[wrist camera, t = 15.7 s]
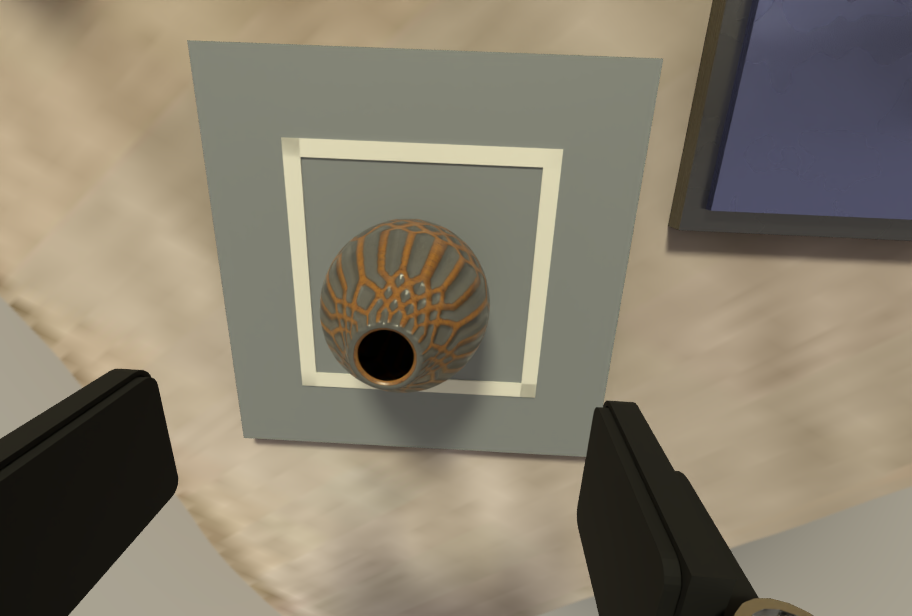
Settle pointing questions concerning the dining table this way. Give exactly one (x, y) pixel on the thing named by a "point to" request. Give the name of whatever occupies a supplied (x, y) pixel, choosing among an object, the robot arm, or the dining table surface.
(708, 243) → the dining table surface
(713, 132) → the ink pad
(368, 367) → the vase
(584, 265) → the board
